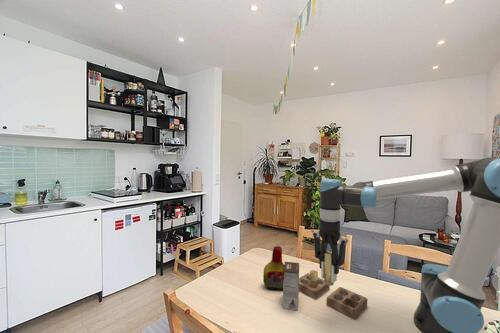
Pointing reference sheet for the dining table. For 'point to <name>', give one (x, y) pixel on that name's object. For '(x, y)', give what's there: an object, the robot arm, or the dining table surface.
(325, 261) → the peg
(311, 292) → the board
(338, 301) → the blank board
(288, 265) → the coffee box
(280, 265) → the bottle
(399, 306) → the dining table surface
